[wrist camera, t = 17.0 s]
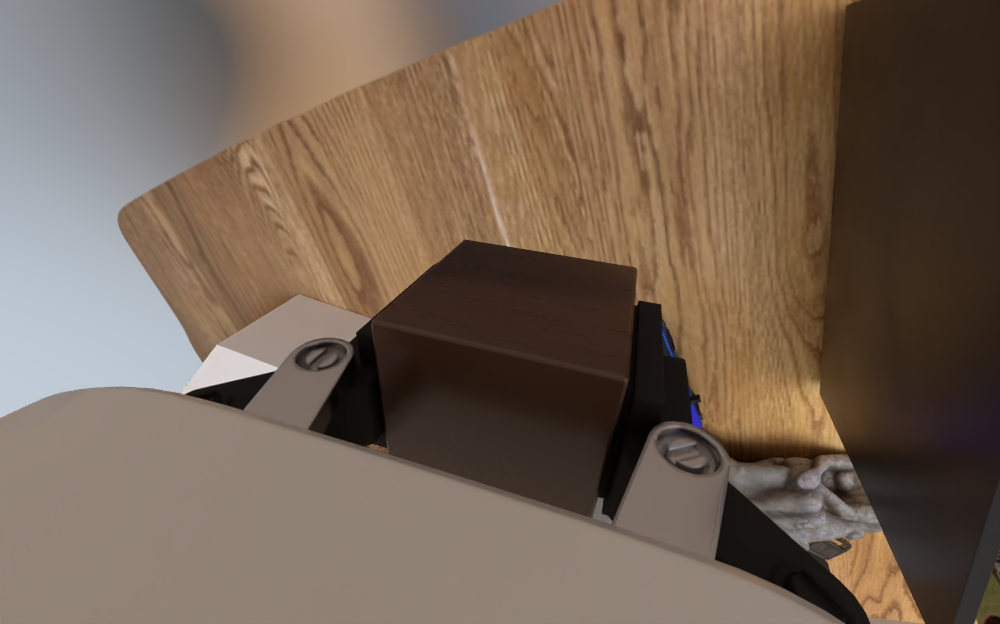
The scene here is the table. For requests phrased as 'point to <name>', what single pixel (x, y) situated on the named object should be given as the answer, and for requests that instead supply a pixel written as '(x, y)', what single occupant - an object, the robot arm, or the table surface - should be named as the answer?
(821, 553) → the strap clip
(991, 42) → the laptop screen
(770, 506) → the sculpture
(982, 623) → the beverage can
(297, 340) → the block
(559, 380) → the block
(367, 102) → the table surface
